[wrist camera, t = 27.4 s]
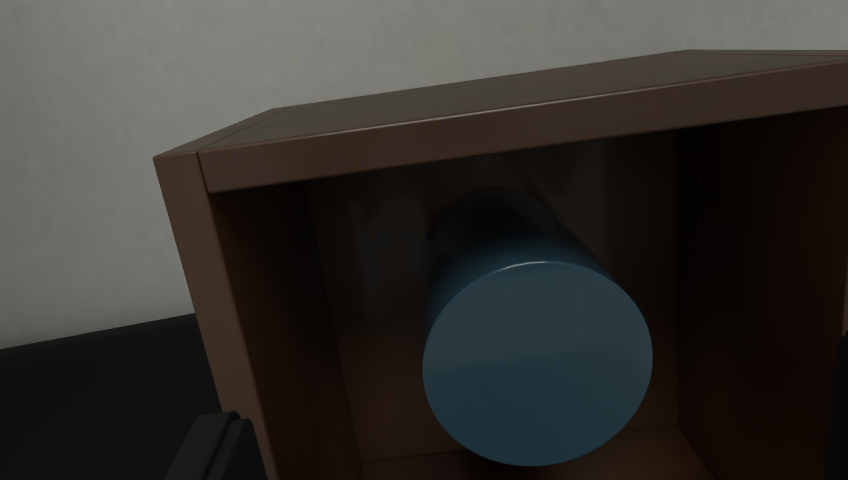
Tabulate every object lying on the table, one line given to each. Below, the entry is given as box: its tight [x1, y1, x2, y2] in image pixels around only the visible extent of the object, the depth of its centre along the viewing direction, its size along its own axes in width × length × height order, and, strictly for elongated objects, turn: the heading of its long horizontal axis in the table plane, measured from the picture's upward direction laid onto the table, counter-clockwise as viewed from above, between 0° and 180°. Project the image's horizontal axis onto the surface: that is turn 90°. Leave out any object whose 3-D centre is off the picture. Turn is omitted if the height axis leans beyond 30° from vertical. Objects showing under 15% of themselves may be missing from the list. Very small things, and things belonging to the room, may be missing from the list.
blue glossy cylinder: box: [421, 187, 653, 467], centre depth 16 cm, size 5×5×7 cm
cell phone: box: [0, 313, 223, 480], centre depth 22 cm, size 9×18×1 cm, turn 101°
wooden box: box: [153, 50, 848, 480], centre depth 16 cm, size 14×13×9 cm
